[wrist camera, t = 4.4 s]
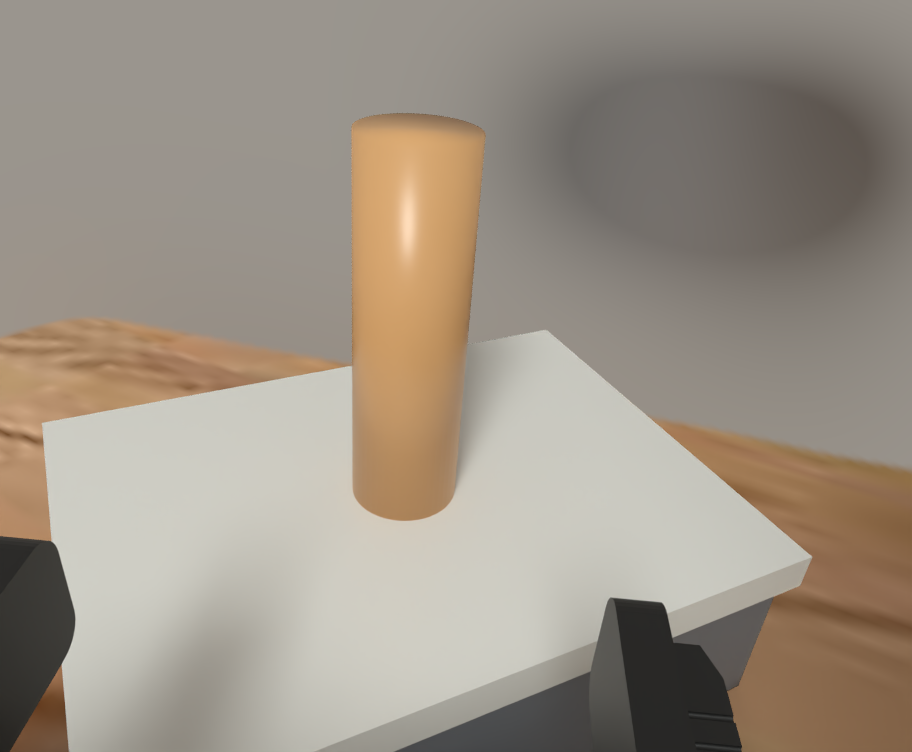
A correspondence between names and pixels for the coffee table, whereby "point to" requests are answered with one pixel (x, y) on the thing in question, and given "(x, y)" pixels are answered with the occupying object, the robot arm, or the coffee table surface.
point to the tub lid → (381, 512)
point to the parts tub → (567, 704)
